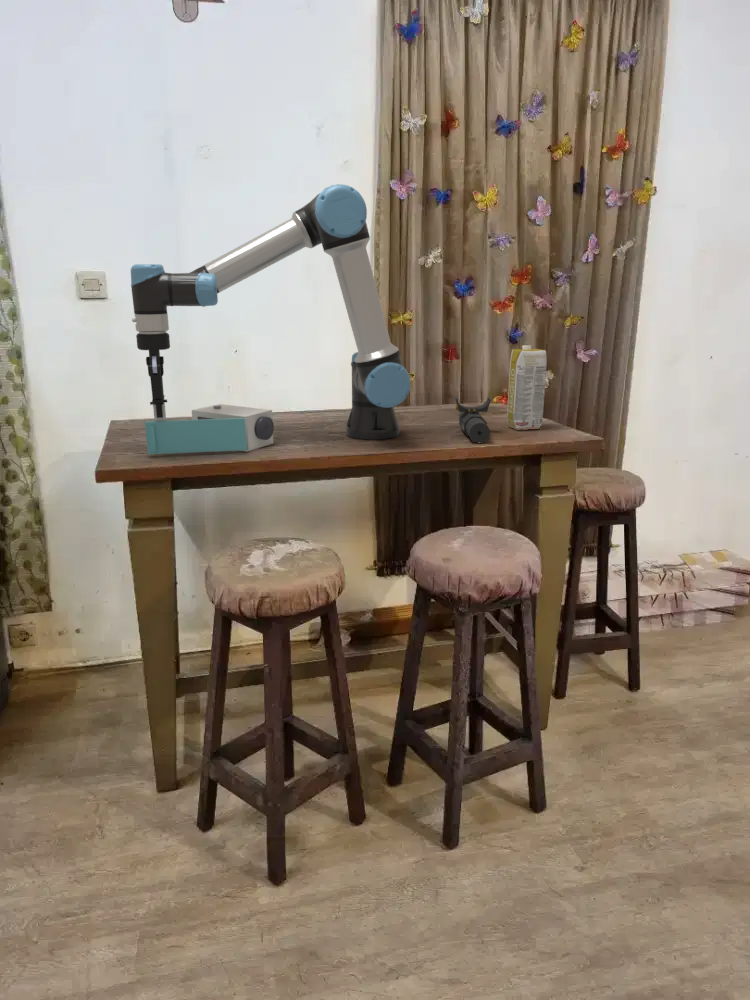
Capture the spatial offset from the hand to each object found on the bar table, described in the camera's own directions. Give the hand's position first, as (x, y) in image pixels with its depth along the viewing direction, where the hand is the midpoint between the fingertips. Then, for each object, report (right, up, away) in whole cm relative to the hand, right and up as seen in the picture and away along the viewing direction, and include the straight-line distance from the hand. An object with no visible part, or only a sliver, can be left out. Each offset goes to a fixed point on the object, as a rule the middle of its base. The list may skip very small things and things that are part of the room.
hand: (161, 429), depth 180 cm
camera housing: (+15, -2, +14) cm, 21 cm away
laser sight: (+81, +1, +25) cm, 84 cm away
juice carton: (+97, +4, +34) cm, 103 cm away
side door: (+9, -5, +2) cm, 10 cm away
